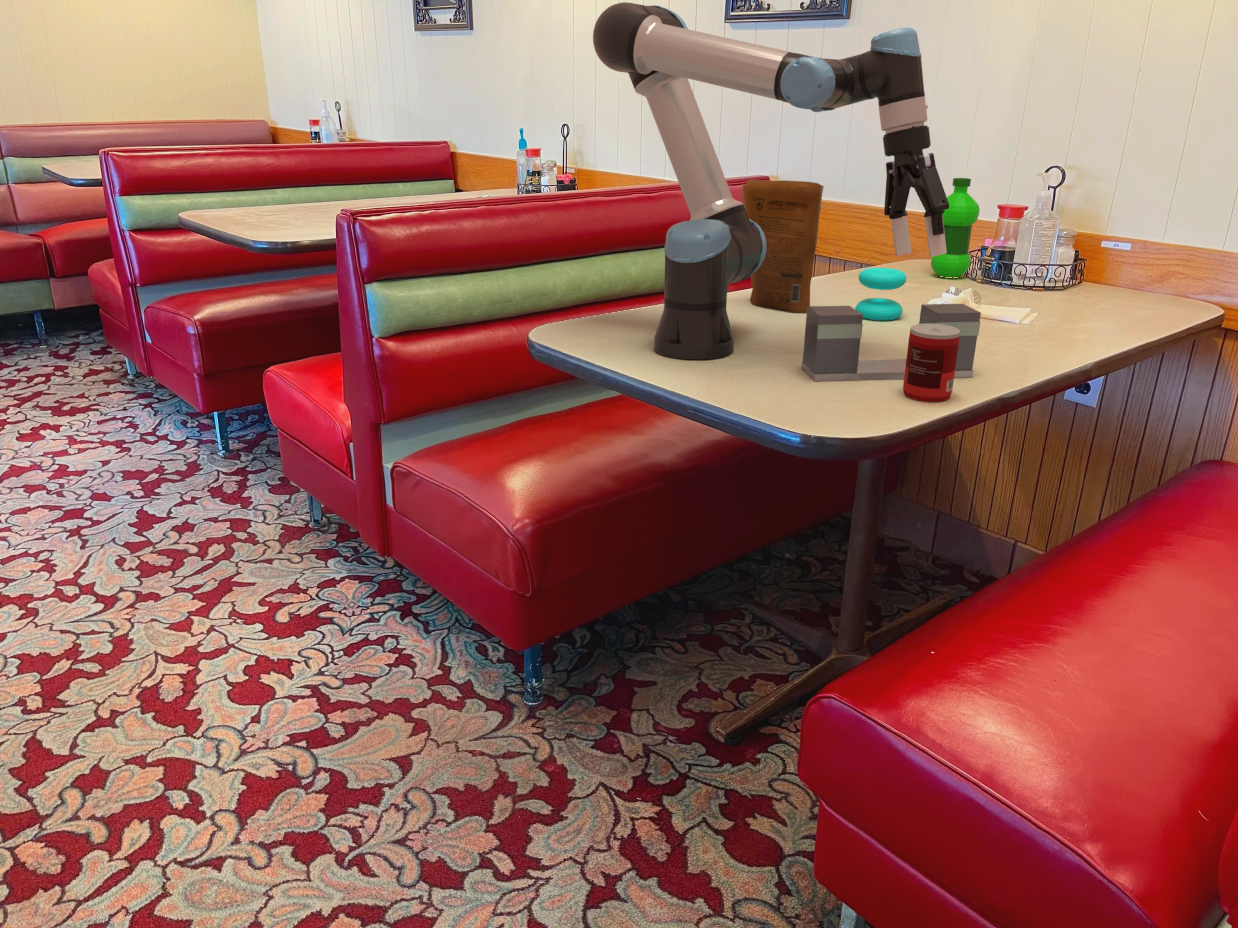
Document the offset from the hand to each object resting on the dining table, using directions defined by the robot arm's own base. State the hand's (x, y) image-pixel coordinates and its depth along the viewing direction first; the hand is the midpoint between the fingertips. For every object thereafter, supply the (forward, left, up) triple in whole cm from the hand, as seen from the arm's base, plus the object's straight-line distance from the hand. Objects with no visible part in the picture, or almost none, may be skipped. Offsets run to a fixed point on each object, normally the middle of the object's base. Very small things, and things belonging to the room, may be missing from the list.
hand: (920, 255), depth 162 cm
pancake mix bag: (-12, +46, -19) cm, 51 cm away
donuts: (+8, +36, -20) cm, 41 cm away
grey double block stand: (-6, -6, -19) cm, 21 cm away
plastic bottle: (+43, +79, -19) cm, 91 cm away
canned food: (-4, -19, -19) cm, 28 cm away
